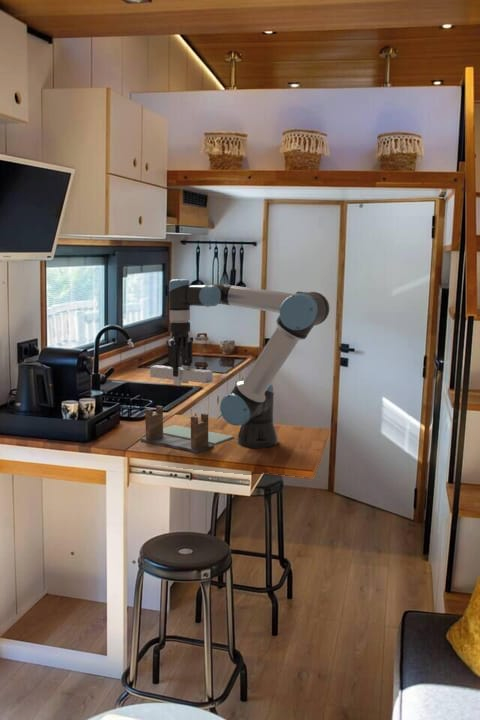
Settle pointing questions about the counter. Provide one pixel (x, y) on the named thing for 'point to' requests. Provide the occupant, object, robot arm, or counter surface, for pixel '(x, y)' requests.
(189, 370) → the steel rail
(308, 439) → the counter surface
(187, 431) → the sage mat
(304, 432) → the counter surface
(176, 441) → the hook rack
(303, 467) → the counter surface
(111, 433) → the counter surface
